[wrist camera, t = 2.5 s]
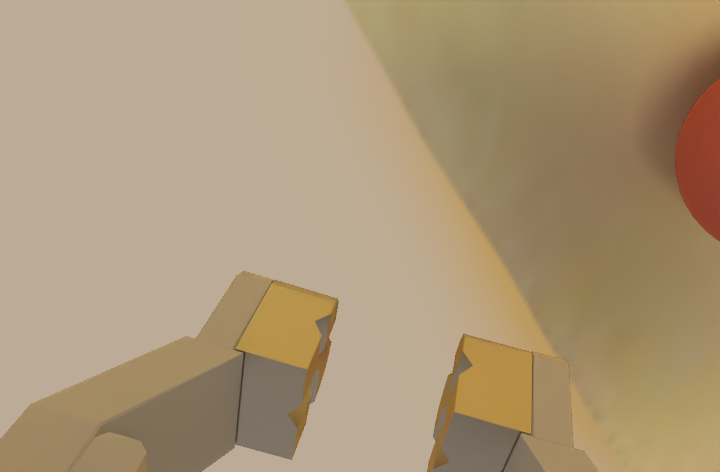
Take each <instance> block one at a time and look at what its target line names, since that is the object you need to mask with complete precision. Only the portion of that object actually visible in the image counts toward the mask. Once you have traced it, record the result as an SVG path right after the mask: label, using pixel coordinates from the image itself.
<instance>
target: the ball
mask: <svg viewBox="0 0 720 472" xmlns="http://www.w3.org/2000/svg"><path fill="white" fill-rule="evenodd" d="M675 169H676V177H677V182H678V186H679V190H680V193H681V195H682V197H683V200H684V202H685V204H686V206H687V208H688V209H689V211H690V212H691V214H692V216H693V217H694V218H695V219H696V220H697V222H698V223H699V224H700V225H701V226H702V227H703V228H704V229H705V230H706V231H707V232H708V233H709V234H710V235H712V236H713V237H714V238H715V239H717V240H718V241H720V78H719V79H718V80H717V81H715V82H714V83H713V84H712V85H711V86H710V87H709V88H708V89H707V90H706V91H705V92H704V93H703V94H702V95H701V96H700V97H699V99H698V100H697V101H696V103H695V104H694V106H693V107H692V109H691V110H690V112H689V114H688V116H687V118H686V119H685V121H684V123H683V126H682V128H681V131H680V133H679V138H678V142H677V147H676V157H675Z"/></svg>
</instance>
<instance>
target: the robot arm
mask: <svg viewBox="0 0 720 472" xmlns="http://www.w3.org/2000/svg"><path fill="white" fill-rule="evenodd" d="M337 308H338V299H337V298H334V297H330V296H327V295H324V294H320V293H317V292H314V291H310V290H307V289H304V288H300V287H297V286H294V285H290V284H287V283H284V282H281V281H277V280H275V281H274V280H272V279H269V278H265V277H262V276H259V275H255V274H252V273H249V272H245V271H243V272H242V273H240V274H239V275H237V276H236V278H235V279H234V281H233V282H232V284H231V285H230V287H229V289H228V290H227V292H226V293H225V295H224V296H223V298H222V299H221V301H220V302H219V304H218V305H217V307H216V308H215V310H214V312H213V313H212V315H211V316H210V318H209V319H208V321H207V322H206V324H205V325H204V327H203V329H202V330H201V332H200V333H199V335H198V336H197V338H196V339H194V338H190V337H183V338H181V339H179V340H177V341H174V342H172V343H170V344H168V345H165V346H163V347H161V348H158V349H156V350H154V351H151V352H149V353H147V354H144V355H142V356H140V357H138V358H135V359H133V360H131V361H128V362H126V363H124V364H122V365H119V366H117V367H115V368H112V369H110V370H108V371H106V372H103V373H101V374H99V375H97V376H94V377H92V378H89V379H87V380H85V381H83V382H80V383H78V384H76V385H73V386H71V387H69V388H67V389H64V390H62V391H60V392H57V393H55V394H53V395H50V396H48V397H46V398H44V399H41V400H39V401H37V402H34V403H32V404H30V405H29V406H28V408H27V409H26V410H25V411H24V412H23V413H22V415H21V416H20V417H19V418H18V419H17V420H16V422H15V423H14V424H13V425H12V426H11V428H10V429H9V430H8V431H7V432H6V433H5V434H4V436H3V437H2V438H1V439H0V472H202V471H203V470H204V469H206V468H207V467H209V466H210V465H211V464H213V463H214V462H216V461H217V460H218V459H220V458H221V457H222V456H224V455H225V454H226V453H228V452H229V451H231V450H232V449H233V448H234V447H235V444H236V445H240V446H243V447H247V448H250V449H254V450H258V451H261V452H265V453H269V454H272V455H276V456H280V457H284V458H287V459H291V460H292V458H293V455H294V453H295V450H296V448H297V445H298V442H299V440H300V437H301V435H302V432H303V430H304V427H305V424H306V419H307V414H308V409H309V404H310V403H313V402H314V401H315V398H316V395H317V392H318V390H319V387H320V383H321V380H322V377H323V374H324V370H325V367H326V363H327V359H328V355H329V350H330V346H331V341H330V339H329V335H330V333H331V330H332V328H333V325H334V323H335V320H336V313H337ZM572 431H573V430H572V413H571V396H570V378H569V365H568V363H567V362H566V360H563V359H559V358H556V357H552V356H548V355H544V354H540V353H536V352H529V351H525V350H521V349H517V348H514V347H510V346H507V345H503V344H499V343H495V342H492V341H488V340H484V339H481V338H477V337H473V336H470V335H466V334H463V336H462V338H461V340H460V343H459V346H458V349H457V352H456V355H455V362H454V367H453V373H452V374H450V375H448V378H447V381H446V385H445V388H444V391H443V395H442V398H441V402H440V405H439V409H438V414H437V419H436V423H435V429H434V434H433V437H434V439H435V441H436V442H435V445H434V448H433V450H432V453H431V456H430V459H429V464H428V470H427V472H599V471H598V469H597V468H596V467H595V465H594V464H593V463H592V461H591V460H590V459H589V457H588V456H587V455H586V453H585V452H584V451H582V450H578V449H575V448H574V447H573V432H572Z"/></svg>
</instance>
